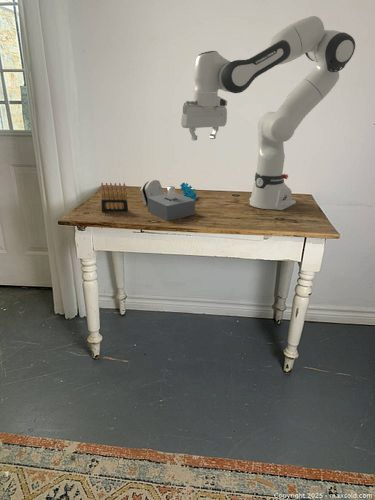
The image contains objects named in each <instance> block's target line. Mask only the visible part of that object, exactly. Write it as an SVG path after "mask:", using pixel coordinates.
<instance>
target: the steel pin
mask: <svg viewBox="0 0 375 500" xmlns="http://www.w3.org/2000/svg"><path fill="white" fill-rule="evenodd" d="M175 193H176V187H175V186H172V185H170V186H167V194H168V200H169V201H173V200H175Z"/></svg>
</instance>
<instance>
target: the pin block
mask: <svg viewBox="0 0 375 500" xmlns="http://www.w3.org/2000/svg"><path fill="white" fill-rule="evenodd" d="M183 195H184V194H180V193H178V192H175V200H173V201H169V200H168V193H166V194H163V195H158V196H153V197H147V201H148V204H147V212H148V213H150V214H152V215H155V216H157V217H158V218H159V219H163V220H164V221H168V222H169V221H173V220H175V219H176V220H177V219H180V218H184V217H188V216H193V215H196V200H193V198H192V199H191V198H190V197H186V196H183Z"/></svg>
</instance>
